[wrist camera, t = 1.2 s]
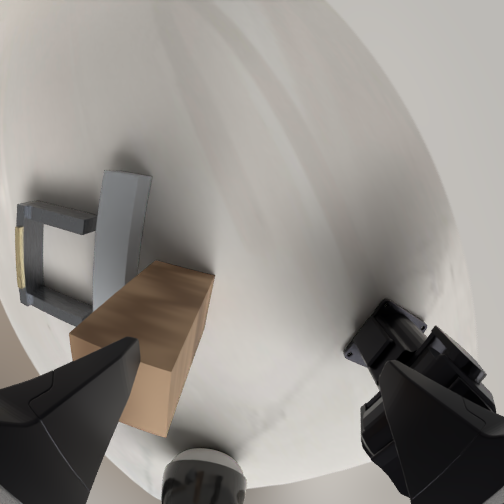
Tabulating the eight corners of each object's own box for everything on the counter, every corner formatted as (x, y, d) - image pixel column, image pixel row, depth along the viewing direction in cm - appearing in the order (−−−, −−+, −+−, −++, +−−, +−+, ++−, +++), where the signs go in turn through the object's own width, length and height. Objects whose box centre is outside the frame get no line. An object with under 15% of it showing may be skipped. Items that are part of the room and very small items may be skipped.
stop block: (215, 275, 21) (171, 371, 10) (204, 328, 23) (166, 437, 11) (155, 260, 21) (69, 333, 10) (149, 313, 23) (81, 404, 11)
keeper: (100, 215, 20) (77, 221, 17) (95, 317, 23) (77, 334, 20) (37, 200, 20) (14, 204, 17) (37, 292, 23) (18, 304, 19)
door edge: (152, 176, 20) (139, 176, 17) (132, 363, 24) (123, 377, 22) (120, 170, 20) (104, 170, 17) (107, 353, 24) (96, 367, 21)
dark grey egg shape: (210, 480, 30) (198, 560, 15) (156, 448, 28) (126, 536, 13) (265, 463, 28) (264, 559, 13) (208, 428, 26) (186, 542, 11)
